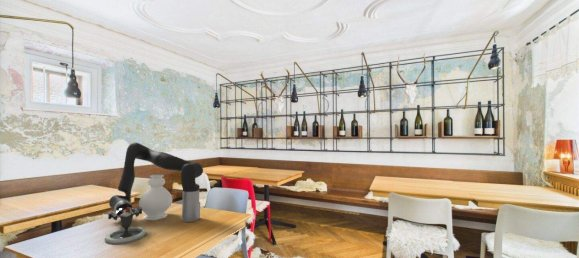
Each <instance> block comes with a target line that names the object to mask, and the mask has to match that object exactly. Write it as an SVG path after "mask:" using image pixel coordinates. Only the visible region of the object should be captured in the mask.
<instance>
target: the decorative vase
mask: <svg viewBox="0 0 579 258" xmlns="http://www.w3.org/2000/svg"><path fill="white" fill-rule="evenodd" d="M164 177H165V175H164V174H162V173H161V174H160V173H158V174H150V175H149V178H150V179H149V180H147V181H148V182H147V184H148V186H150V187H149V188H148V189H147V190H145V192H144V193H143V194H142V195H141V197H140V199H139V201H138V207H141V208H142V213H144V214H145V215H144V216H143V219H144V220H145V221H157V220H162V219H164V218H167V216H168V213H167V211H168V209H169V208H170V207H171V206H172V204H173V196H172V195H171V193H170V192H169V190H168V189H167V188H165V187H164V185H165V183H166V179H165V178H164Z"/></svg>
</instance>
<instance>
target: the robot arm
mask: <svg viewBox="0 0 579 258" xmlns="http://www.w3.org/2000/svg"><path fill="white" fill-rule="evenodd" d="M136 160H139V161H144V162H145V161H146V162H149V163H151V164H152V165H154V166H156V167H159V168H161V169H165V170H168V171H176V172H177V171H178V172H180V177H181V179H180V181H181V183H180V184H181V188H182V209H181V210H182V211H181V213H182V215H181V221H182V222H183V223H192V222H193V223H194V222H196V221H199V219H200V217H201V201H200V184H199V183H196V178H200V176H202V175H203V173H204V168H203V166H202V165H201V164H200V163H198V162H194V161H190V160H186V159H184V158H181V157H178V156H175V155H173V154H170V153H167V152H163V151H157V150H153V149H151V148H149V147H148V146H146V145H143V144H141V143H139V142H135V141H134V142H131V143H130V144H128V147H127V148H126V152H125V159H124V165H123V169H122V175H121V178H120V180H119V184H118V186H117V191H119V192H122V193H124V194H125V195H120V194H115V195H112V196H111V197H110V198H109V200H108V205H109V208H111V209H113V210H114V211H112V210H109V211H108V212H107V213H108V217H107V220H111V219H113V220H114V221H118V218H120V217H119V215H120V214H122V213H123V212H124V210H125V209H127V208H130V209H131V211H132V212H134V213H135V215H134V216H135V217H139V216H140V215H142V214H143V211H142V208H141V207H140V206H137V207H136V208H135V207H133V205H132V204H131V203H132V189H133V185H134V182H135V177H136V174H135V173H136V172H135V161H136ZM128 205H129V206H128Z"/></svg>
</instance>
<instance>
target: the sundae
mask: <svg viewBox="0 0 579 258" xmlns="http://www.w3.org/2000/svg"><path fill="white" fill-rule="evenodd" d="M128 206H129V205H128ZM134 216H135V213H134V212H132V211H131V209H130V208H127V209H125V210H124V212H123V213H122V214H120V215H119V218H120V225H121V228H122V229H123V228H125V233H124V234H122V235H121V236H120V237H129V236H131V235H132V233H128V228H129V227H132V223H133V218H134Z"/></svg>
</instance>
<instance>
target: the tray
mask: <svg viewBox="0 0 579 258" xmlns="http://www.w3.org/2000/svg"><path fill="white" fill-rule="evenodd" d="M124 233H125V228H123V227H122V228H119V229H115V230H113V231H109V233H108V234H106V235H105V238H104V242H105V243H106V244H107V245H121V244H128V243H132V242H136V241H139V240H141V239H143V238H144V237H146V236H147V230H146V228H145V227H142V226H130V227H129V228H128V233H132V235H131V236H129V237H120V236H121V235H122V234H124Z"/></svg>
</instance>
